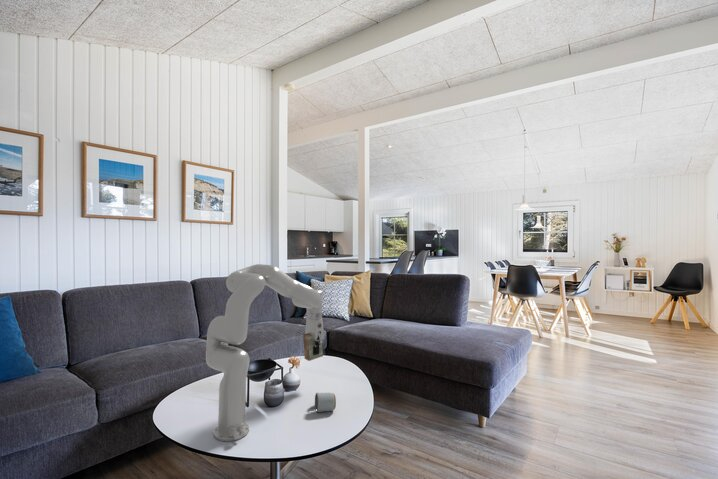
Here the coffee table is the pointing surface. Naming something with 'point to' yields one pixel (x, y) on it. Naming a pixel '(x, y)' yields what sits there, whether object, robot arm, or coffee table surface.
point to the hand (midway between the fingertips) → (313, 352)
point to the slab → (310, 347)
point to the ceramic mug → (325, 402)
